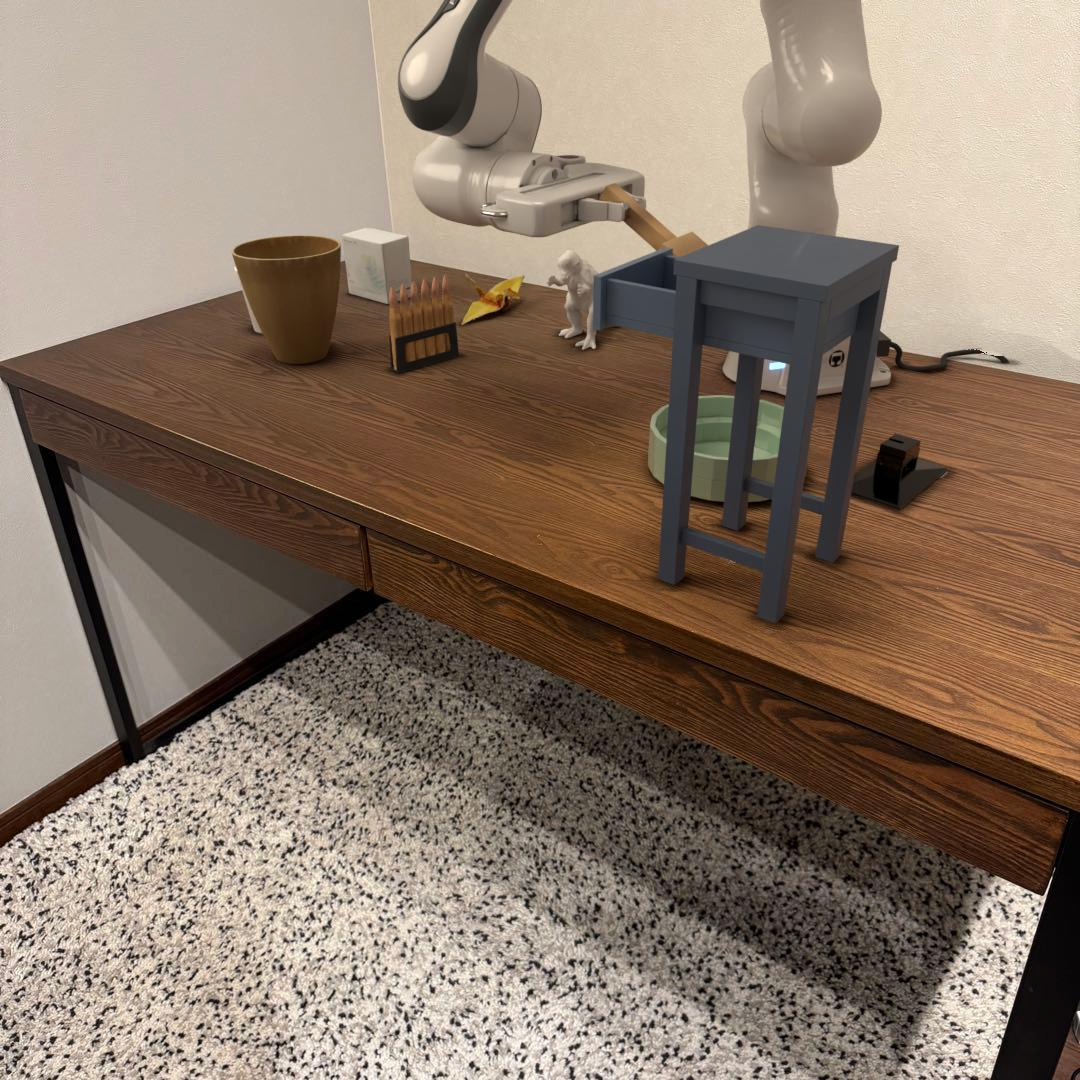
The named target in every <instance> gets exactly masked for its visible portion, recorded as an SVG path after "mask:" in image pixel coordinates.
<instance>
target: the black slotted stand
mask: <svg viewBox="0 0 1080 1080" xmlns="http://www.w3.org/2000/svg"><path fill="white" fill-rule="evenodd" d="M920 445H921V440H920V439H916V438H912V437H909V436H905V435H902V434H898V433H894V434H893V435H891V436H890V437H888V439H885V440H884V441H883V442H882V443H880V445H879V451H878V452H877V455H876V458H875V459H873V460H872V461H871V462H869V463H868V464H867V465H865V466H864V467H863V468H861V469H860V470H859V471H857V472H855V475H854V481H853V486H852V492H851V496H853V497H856V498H859V499H862V500H865V501H868V502H871V503H874V504H877V505H880V506H883V507H885V508H889V509H892V510H894V511H901V510H902V509H904V508H905V507H906V506H907V505H908V504H909V503H911V502H912V501H913V500H914V499H915V498H916V497H918V496H919V495H920V494H921V493H923V492H924V491H925V490H926V489H927V488H928V487H930V486H931V485H932V484H933V483H934V482H935V481H937V480H938V479H942V478H943V477H945V476H946V475H947V474H948V467H946V466H943V465H941V464H938V463H937V464H936V463H933V462H930V461H928V460H923V459H920V458H919V455H920V451H921V446H920Z"/></svg>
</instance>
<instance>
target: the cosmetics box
mask: <svg viewBox="0 0 1080 1080" xmlns="http://www.w3.org/2000/svg"><path fill="white" fill-rule="evenodd" d="M341 239H342V247H343V254H344V261H345V262H344V263H345V271H346V280H347V286H348V294H350V295H352V296H357V297H361V298H363V299H368V300H372V301H375V302H379V303H381V304H386V305H390V304H389V294H390V289H391V286H393V287H394V289H395V292H396V295H397V300H398V302H400V290H401V286H402V284H404V285H405V287H406V290H407V294H408V299H410V298H411V286H412V282H413V275H412V266H411V256H410V255H411V253H410V240H409V236H408V235H405V234H400V233H397V232H396V233H395V232H391V231H386V230H382V229H378V228H372V227H364V228H360V229H357V230H353V231H349V232H347V233H343V234H341Z"/></svg>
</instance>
